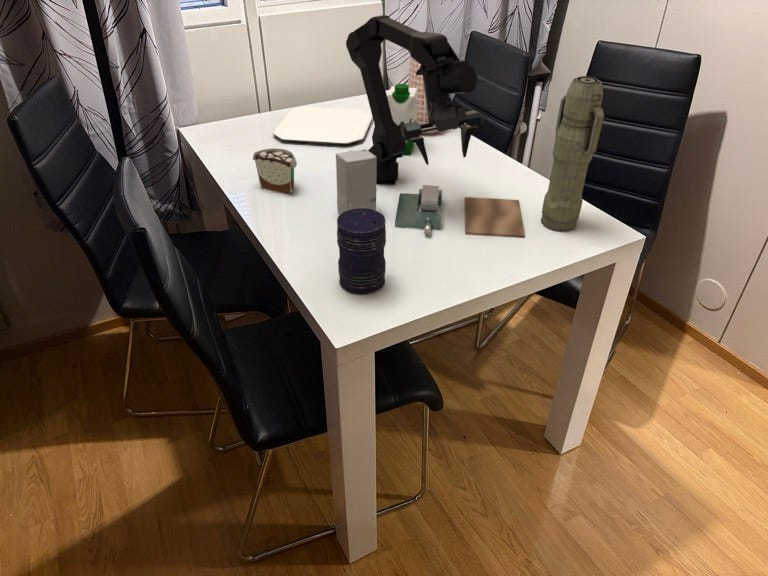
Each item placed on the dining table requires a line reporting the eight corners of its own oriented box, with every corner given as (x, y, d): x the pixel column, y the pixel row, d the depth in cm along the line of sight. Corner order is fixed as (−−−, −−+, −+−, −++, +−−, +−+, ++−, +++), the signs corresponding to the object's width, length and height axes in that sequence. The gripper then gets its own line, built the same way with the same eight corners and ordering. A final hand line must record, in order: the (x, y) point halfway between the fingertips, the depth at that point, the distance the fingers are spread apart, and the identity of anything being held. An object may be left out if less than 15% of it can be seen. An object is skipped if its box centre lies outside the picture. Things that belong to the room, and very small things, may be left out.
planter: (406, 121, 204) (408, 33, 188) (445, 122, 204) (452, 34, 188) (405, 137, 194) (408, 44, 177) (447, 138, 193) (454, 45, 177)
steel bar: (420, 221, 151) (421, 199, 147) (421, 206, 157) (422, 185, 154) (436, 222, 150) (438, 200, 147) (437, 207, 157) (438, 185, 153)
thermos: (564, 238, 144) (596, 90, 124) (528, 218, 152) (552, 76, 132) (589, 228, 149) (624, 83, 128) (553, 208, 156) (580, 69, 136)
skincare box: (347, 223, 149) (345, 163, 140) (335, 211, 154) (333, 152, 145) (378, 216, 152) (378, 157, 143) (365, 204, 157) (365, 146, 148)
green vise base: (393, 235, 145) (393, 224, 143) (399, 198, 160) (399, 187, 158) (439, 238, 144) (440, 227, 142) (441, 200, 159) (442, 190, 158)
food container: (307, 187, 165) (305, 152, 159) (295, 197, 160) (292, 161, 154) (269, 178, 169) (265, 144, 163) (256, 187, 164) (251, 152, 159)
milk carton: (384, 154, 183) (384, 87, 171) (389, 142, 190) (390, 77, 178) (413, 156, 182) (415, 89, 170) (417, 145, 189) (420, 79, 177)
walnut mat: (465, 234, 146) (465, 232, 145) (464, 199, 160) (464, 197, 160) (524, 237, 145) (525, 235, 144) (518, 202, 159) (518, 199, 159)
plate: (293, 111, 212) (292, 105, 211) (375, 116, 209) (375, 110, 208) (269, 144, 189) (268, 137, 188) (361, 150, 186) (360, 143, 185)
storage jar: (331, 289, 127) (327, 226, 118) (349, 264, 135) (348, 204, 126) (375, 299, 124) (375, 236, 116) (392, 274, 132) (393, 213, 123)
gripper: (403, 105, 133) (414, 175, 139) (486, 89, 134) (493, 159, 140) (395, 100, 143) (406, 165, 149) (473, 85, 144) (479, 151, 150)
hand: (446, 160), depth 147 cm, fingers open, 9 cm apart
